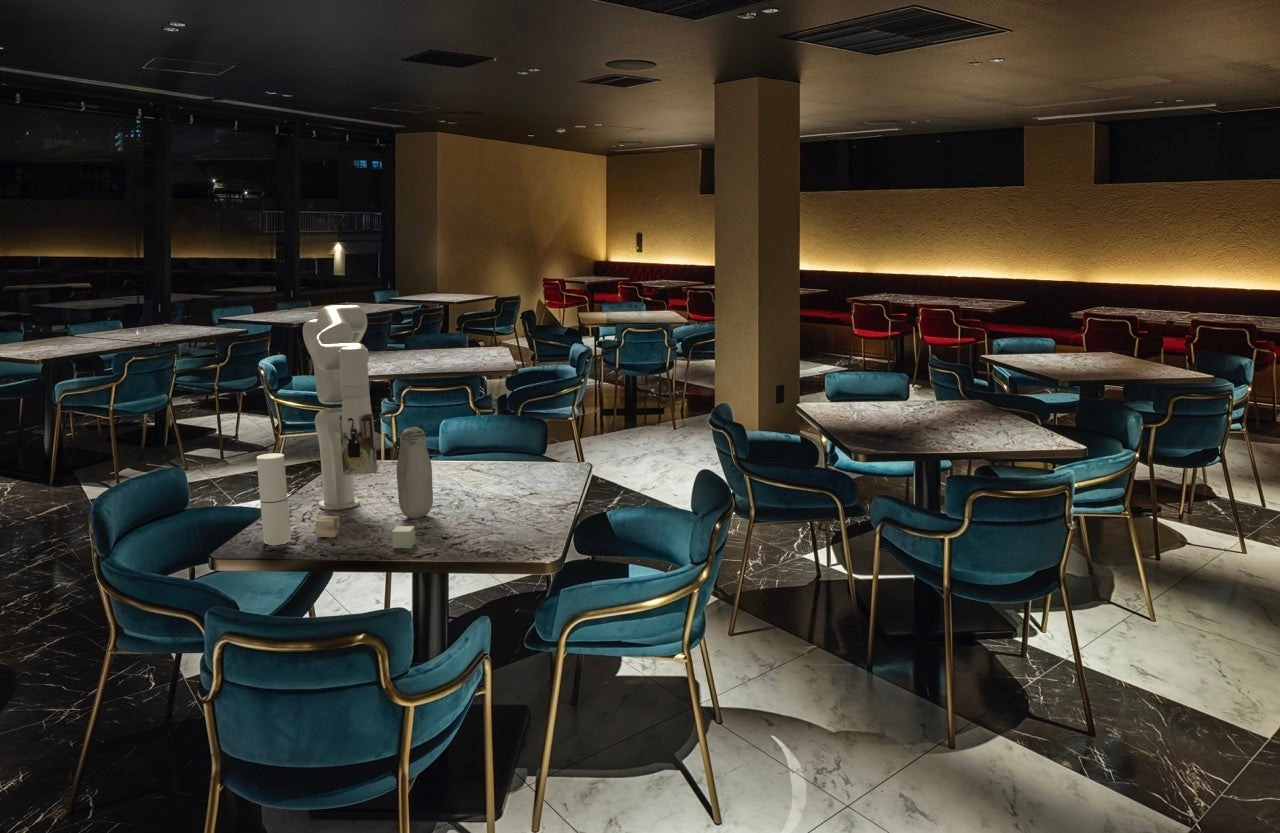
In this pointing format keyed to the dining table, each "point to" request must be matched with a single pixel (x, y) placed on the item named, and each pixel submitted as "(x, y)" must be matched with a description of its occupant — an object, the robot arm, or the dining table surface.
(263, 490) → the cylindrical container
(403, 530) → the sage block
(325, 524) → the birch block
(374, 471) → the coffee box
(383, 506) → the dining table surface
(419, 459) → the grey bottle
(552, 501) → the dining table surface
